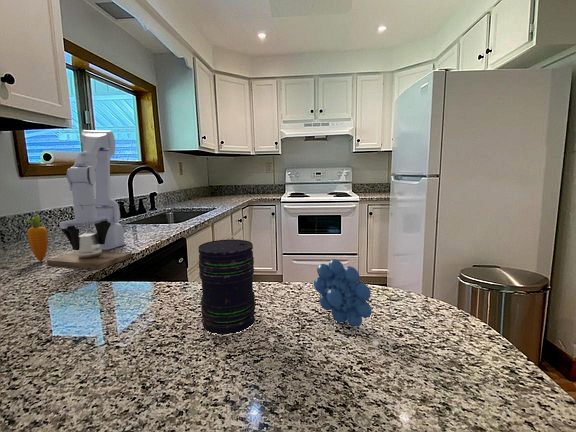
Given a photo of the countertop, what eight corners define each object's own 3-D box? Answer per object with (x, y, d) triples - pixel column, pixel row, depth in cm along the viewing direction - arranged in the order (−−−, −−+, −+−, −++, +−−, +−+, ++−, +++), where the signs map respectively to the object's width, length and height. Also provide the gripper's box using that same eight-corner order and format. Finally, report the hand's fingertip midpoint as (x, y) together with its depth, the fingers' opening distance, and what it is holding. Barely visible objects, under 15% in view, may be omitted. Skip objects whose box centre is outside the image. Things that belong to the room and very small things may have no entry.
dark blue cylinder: (201, 340, 50) (196, 254, 48) (202, 314, 60) (197, 241, 58) (259, 331, 53) (257, 249, 51) (251, 307, 62) (249, 237, 60)
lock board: (85, 253, 106) (84, 249, 106) (131, 257, 101) (131, 252, 101) (47, 264, 94) (46, 259, 93) (98, 269, 88) (97, 263, 88)
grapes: (301, 323, 56) (301, 260, 54) (320, 309, 61) (320, 252, 59) (360, 344, 49) (362, 273, 47) (376, 326, 54) (378, 262, 52)
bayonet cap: (74, 259, 93) (72, 237, 92) (83, 253, 100) (81, 232, 98) (97, 257, 94) (95, 235, 93) (105, 252, 101) (102, 231, 100)
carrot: (42, 263, 95) (36, 216, 93) (27, 263, 95) (20, 217, 93) (54, 258, 100) (48, 214, 98) (40, 259, 100) (34, 214, 98)
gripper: (67, 208, 86) (72, 253, 88) (114, 203, 99) (118, 243, 101) (53, 207, 89) (58, 251, 91) (101, 202, 102) (105, 241, 104)
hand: (89, 246), depth 97 cm, fingers open, 7 cm apart
